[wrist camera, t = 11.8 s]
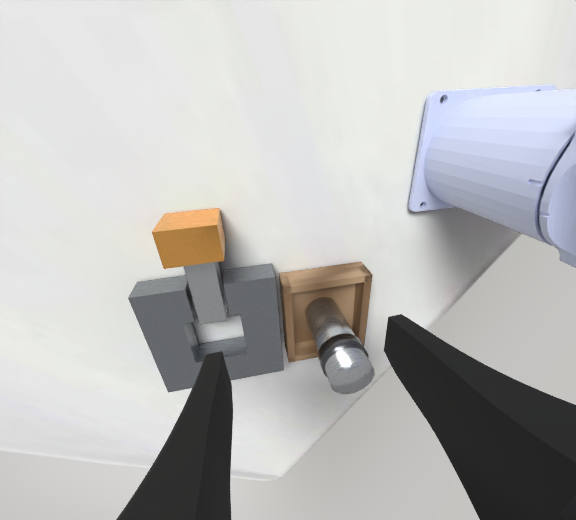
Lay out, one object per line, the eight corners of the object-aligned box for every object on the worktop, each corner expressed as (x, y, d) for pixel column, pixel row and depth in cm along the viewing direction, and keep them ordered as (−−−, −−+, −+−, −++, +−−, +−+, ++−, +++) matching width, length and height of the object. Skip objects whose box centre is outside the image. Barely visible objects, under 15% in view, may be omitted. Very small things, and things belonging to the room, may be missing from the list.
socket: (137, 282, 20) (128, 297, 18) (271, 263, 21) (275, 276, 19) (172, 372, 25) (168, 392, 23) (280, 353, 26) (283, 370, 24)
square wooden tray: (361, 261, 23) (372, 274, 21) (354, 332, 26) (363, 348, 25) (278, 273, 22) (283, 287, 20) (284, 344, 26) (288, 362, 24)
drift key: (164, 213, 18) (151, 232, 15) (219, 208, 18) (217, 224, 16) (192, 310, 22) (186, 338, 19) (236, 303, 22) (237, 330, 20)
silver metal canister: (333, 289, 23) (371, 352, 17) (343, 316, 24) (380, 383, 18) (298, 304, 23) (322, 373, 17) (309, 330, 24) (335, 401, 18)
